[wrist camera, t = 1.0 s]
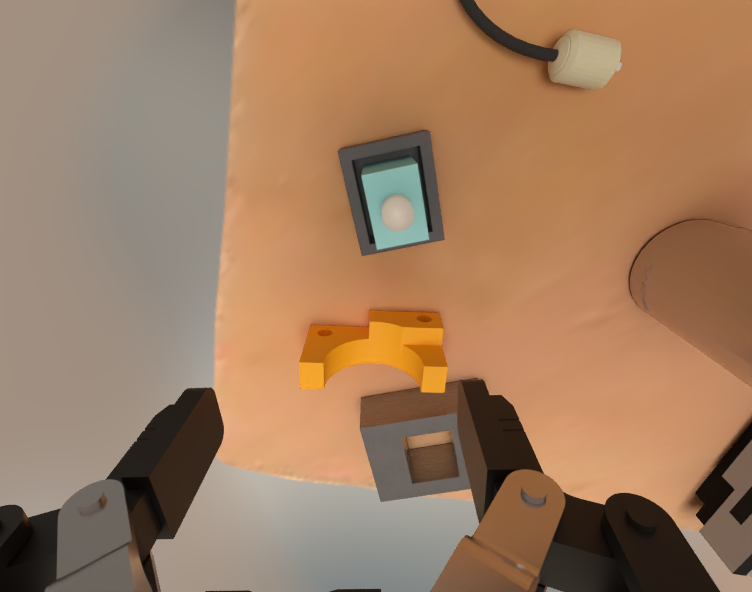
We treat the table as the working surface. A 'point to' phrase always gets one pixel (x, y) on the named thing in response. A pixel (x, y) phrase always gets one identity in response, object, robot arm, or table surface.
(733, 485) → the game console
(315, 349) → the pipe clamp
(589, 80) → the cable
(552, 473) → the table surface
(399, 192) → the plug
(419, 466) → the switch housing
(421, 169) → the grey rectangular frame
